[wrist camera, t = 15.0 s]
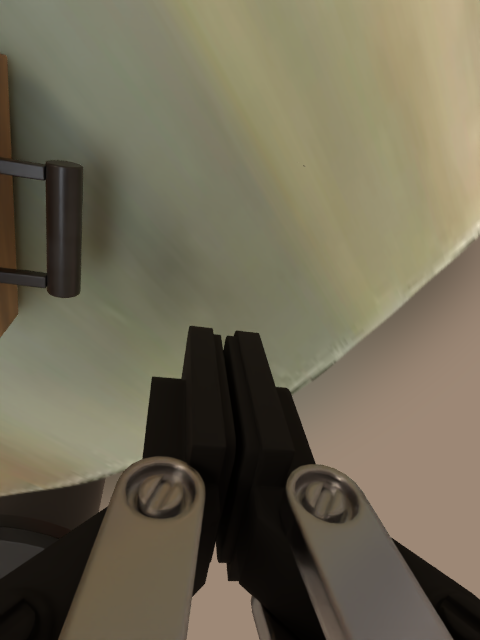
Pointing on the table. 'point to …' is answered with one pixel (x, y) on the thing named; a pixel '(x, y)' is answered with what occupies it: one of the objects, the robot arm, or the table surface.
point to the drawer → (60, 220)
